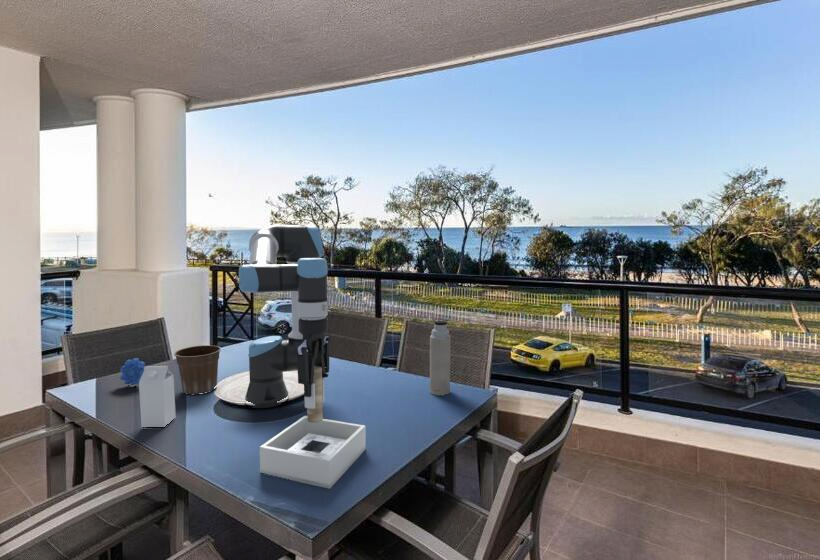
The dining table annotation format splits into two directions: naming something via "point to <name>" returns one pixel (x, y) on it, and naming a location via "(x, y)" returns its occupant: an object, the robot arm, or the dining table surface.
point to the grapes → (132, 371)
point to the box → (310, 466)
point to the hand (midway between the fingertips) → (314, 404)
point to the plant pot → (198, 368)
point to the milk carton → (157, 396)
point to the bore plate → (317, 445)
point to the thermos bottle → (440, 359)
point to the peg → (316, 398)
